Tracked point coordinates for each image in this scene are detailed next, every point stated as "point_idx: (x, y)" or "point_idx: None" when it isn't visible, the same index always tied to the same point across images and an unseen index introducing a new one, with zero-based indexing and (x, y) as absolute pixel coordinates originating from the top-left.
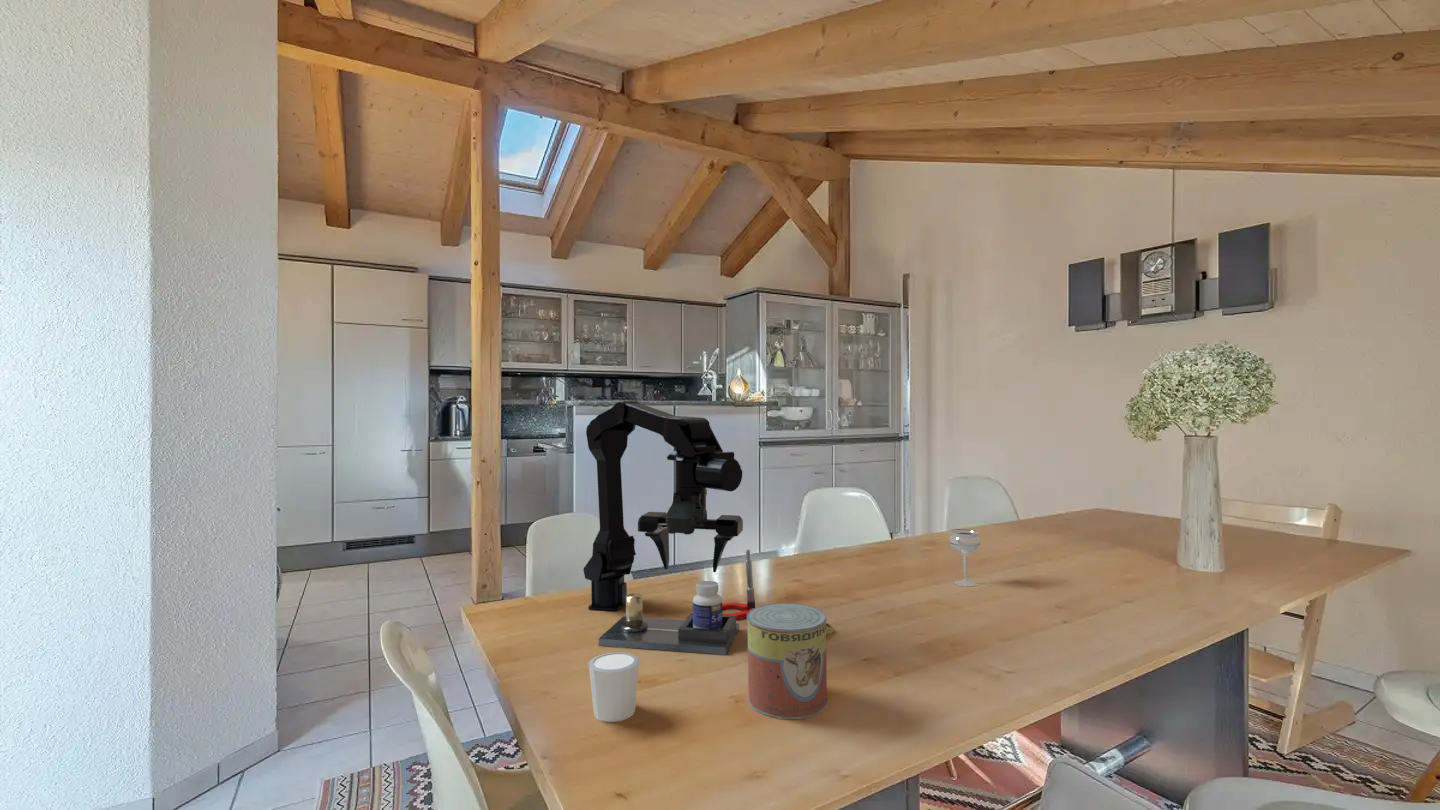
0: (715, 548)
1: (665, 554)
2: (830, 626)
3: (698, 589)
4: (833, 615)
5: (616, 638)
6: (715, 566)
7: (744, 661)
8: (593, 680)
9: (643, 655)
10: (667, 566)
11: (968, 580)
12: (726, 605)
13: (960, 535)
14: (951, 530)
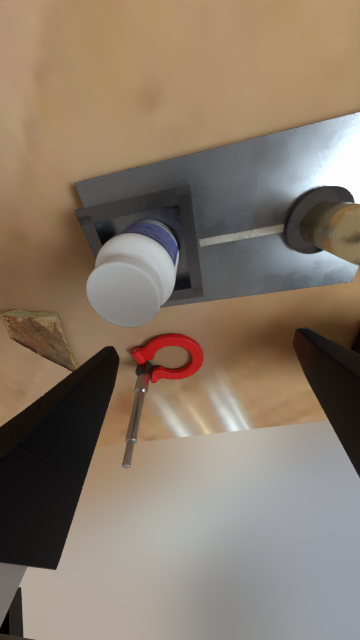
0: (26, 430)
1: (342, 375)
2: (15, 340)
3: (139, 263)
4: (55, 377)
5: (358, 126)
6: (92, 359)
7: (29, 163)
8: None
9: (255, 85)
10: (298, 340)
11: None
12: (185, 370)
13: None
14: None
